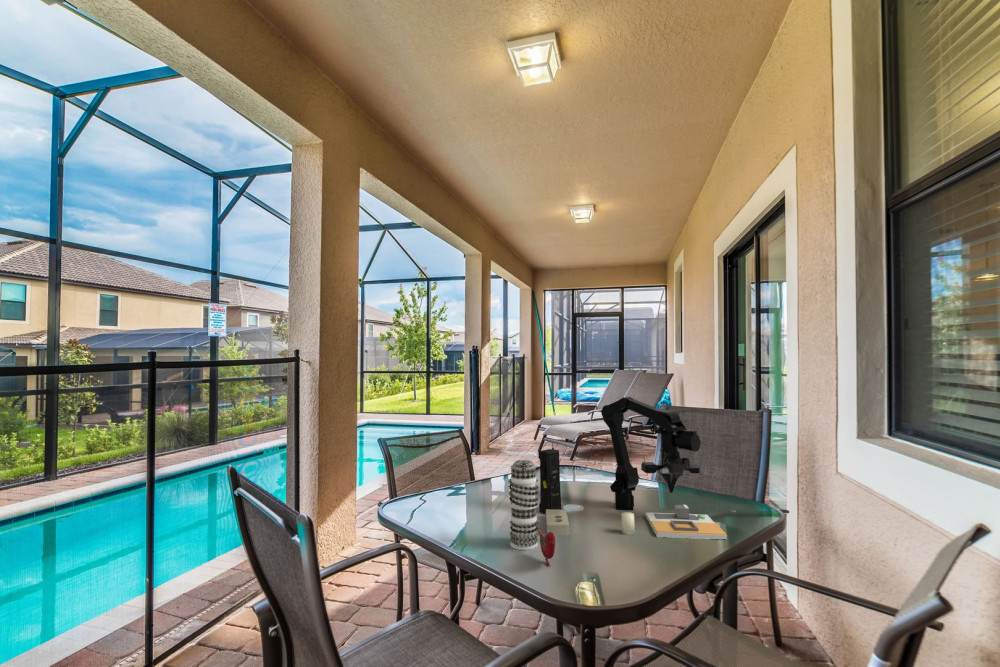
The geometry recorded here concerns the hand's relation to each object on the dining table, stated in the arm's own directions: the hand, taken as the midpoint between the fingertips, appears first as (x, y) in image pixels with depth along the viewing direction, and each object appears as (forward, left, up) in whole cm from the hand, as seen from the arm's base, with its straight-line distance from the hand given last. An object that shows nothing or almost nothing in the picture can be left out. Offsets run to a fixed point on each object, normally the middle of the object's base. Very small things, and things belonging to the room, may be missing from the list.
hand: (670, 492), depth 160 cm
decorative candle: (-49, -26, -10) cm, 57 cm away
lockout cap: (-16, -12, -10) cm, 23 cm away
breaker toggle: (+4, +1, -8) cm, 9 cm away
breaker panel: (+3, -5, -10) cm, 12 cm away
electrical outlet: (-40, -8, -11) cm, 42 cm away
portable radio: (-42, +6, -10) cm, 44 cm away
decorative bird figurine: (-42, -37, -10) cm, 57 cm away
